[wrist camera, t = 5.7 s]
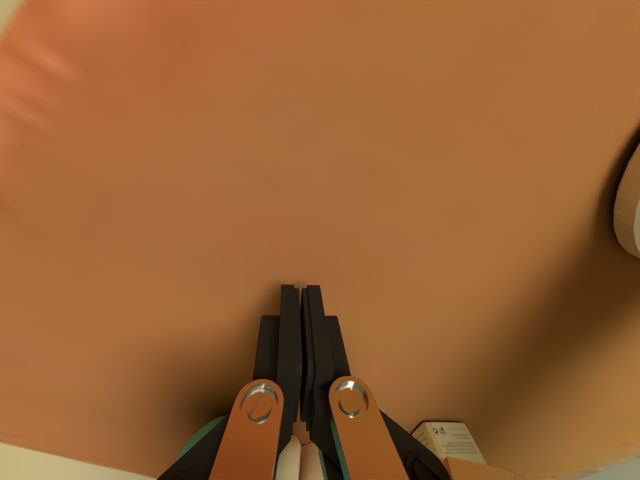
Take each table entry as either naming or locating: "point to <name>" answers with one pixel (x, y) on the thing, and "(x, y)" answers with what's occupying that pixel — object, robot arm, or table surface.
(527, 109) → the table surface
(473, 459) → the skincare box
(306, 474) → the pin
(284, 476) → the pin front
